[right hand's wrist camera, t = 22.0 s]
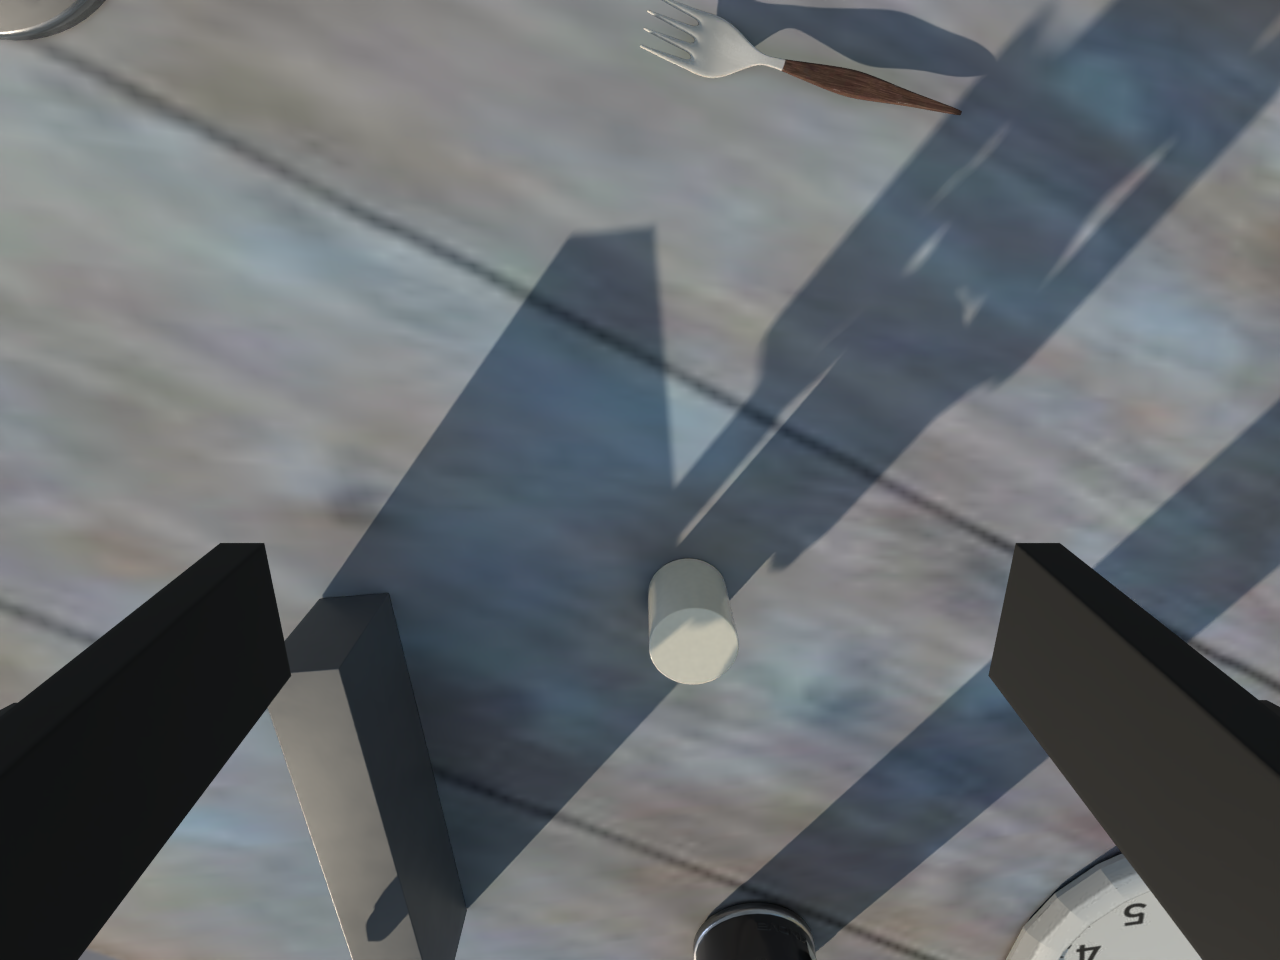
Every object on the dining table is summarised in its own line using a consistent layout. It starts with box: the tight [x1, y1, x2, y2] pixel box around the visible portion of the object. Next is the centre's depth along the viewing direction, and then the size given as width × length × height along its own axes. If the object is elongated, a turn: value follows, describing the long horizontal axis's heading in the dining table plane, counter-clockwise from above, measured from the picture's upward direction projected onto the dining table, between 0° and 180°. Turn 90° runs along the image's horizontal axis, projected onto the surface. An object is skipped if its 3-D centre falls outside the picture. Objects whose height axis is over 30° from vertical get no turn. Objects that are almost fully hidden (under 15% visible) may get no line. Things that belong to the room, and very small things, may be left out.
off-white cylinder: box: [648, 558, 739, 684], centre depth 42 cm, size 5×5×6 cm
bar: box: [268, 593, 467, 960], centre depth 46 cm, size 28×4×8 cm, turn 5°
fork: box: [640, 0, 962, 115], centre depth 34 cm, size 3×16×2 cm, turn 77°
